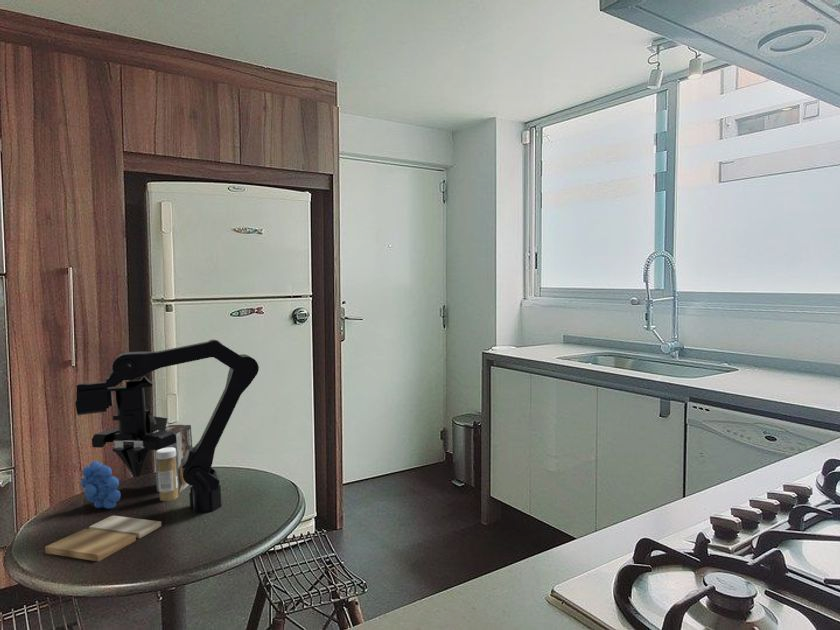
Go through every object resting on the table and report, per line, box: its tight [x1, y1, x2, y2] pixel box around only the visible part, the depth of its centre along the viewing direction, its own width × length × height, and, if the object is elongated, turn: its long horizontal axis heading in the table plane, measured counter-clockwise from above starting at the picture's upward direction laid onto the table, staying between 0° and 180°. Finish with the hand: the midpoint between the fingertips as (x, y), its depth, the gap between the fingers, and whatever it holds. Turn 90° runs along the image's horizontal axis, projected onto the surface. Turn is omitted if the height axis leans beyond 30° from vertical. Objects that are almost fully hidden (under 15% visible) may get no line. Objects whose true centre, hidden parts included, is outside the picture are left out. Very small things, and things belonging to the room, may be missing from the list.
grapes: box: [80, 460, 122, 510], centre depth 132 cm, size 12×7×12 cm, turn 71°
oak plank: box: [44, 528, 137, 562], centre depth 112 cm, size 14×9×2 cm, turn 72°
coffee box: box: [154, 424, 193, 494], centre depth 147 cm, size 9×6×16 cm
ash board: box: [88, 515, 162, 539], centre depth 120 cm, size 14×6×2 cm, turn 72°
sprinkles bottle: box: [156, 447, 179, 502], centre depth 137 cm, size 5×5×13 cm
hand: (137, 476), depth 123 cm, fingers closed
